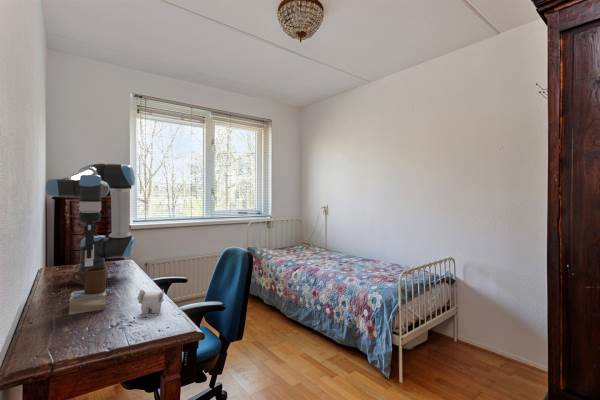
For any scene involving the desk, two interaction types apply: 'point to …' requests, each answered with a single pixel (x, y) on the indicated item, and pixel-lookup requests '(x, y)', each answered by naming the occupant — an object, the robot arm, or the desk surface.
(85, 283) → the mug
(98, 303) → the plinth
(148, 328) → the desk surface
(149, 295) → the elephant figurine
